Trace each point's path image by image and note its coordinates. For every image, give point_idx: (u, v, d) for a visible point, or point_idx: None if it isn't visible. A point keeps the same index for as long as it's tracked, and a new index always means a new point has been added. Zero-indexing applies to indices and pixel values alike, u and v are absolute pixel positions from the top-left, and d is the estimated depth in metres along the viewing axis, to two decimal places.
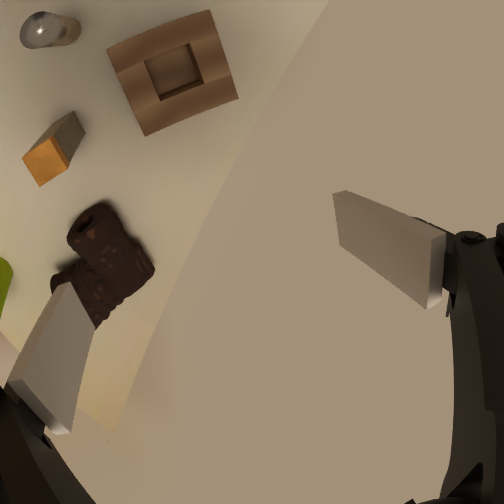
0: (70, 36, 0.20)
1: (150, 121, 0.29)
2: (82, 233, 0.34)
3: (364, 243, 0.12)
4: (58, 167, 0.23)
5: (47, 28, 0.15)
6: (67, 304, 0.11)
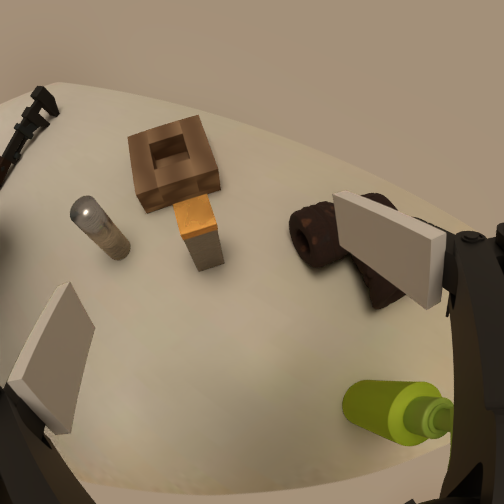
0: (115, 225, 0.36)
1: (205, 164, 0.38)
2: (306, 234, 0.34)
3: (365, 244, 0.12)
4: (202, 201, 0.29)
5: (86, 201, 0.29)
6: (67, 304, 0.11)
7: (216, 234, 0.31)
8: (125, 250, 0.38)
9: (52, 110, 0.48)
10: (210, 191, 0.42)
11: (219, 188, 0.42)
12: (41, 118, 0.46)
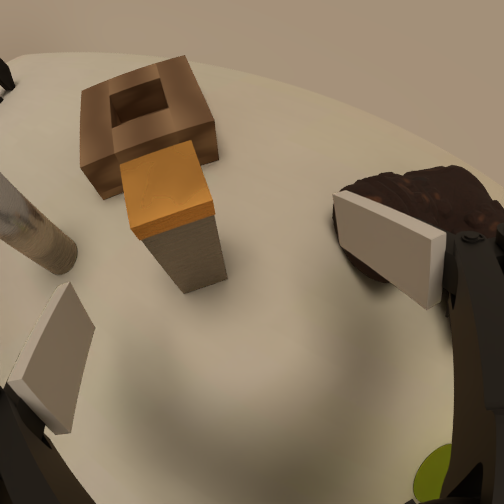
0: (48, 219, 0.19)
1: (193, 115, 0.22)
2: None
3: (364, 244, 0.12)
4: (181, 154, 0.13)
5: None
6: (67, 305, 0.11)
7: (212, 226, 0.14)
8: (67, 259, 0.22)
9: (6, 82, 0.31)
10: (202, 161, 0.26)
11: (217, 157, 0.26)
12: None
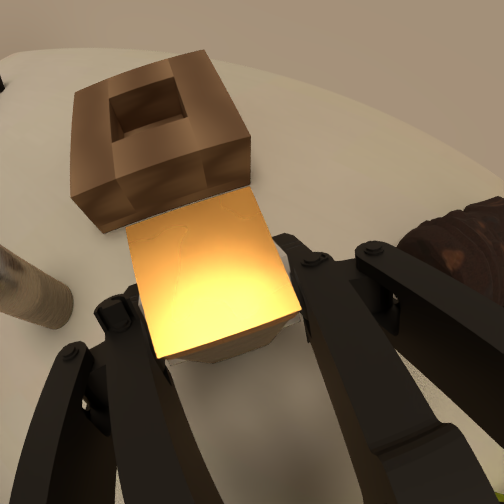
0: (33, 266, 0.14)
1: (221, 127, 0.17)
2: None
3: None
4: (235, 213, 0.08)
5: None
6: None
7: (281, 324, 0.09)
8: (61, 313, 0.17)
9: None
10: (229, 187, 0.21)
11: (248, 181, 0.21)
12: None
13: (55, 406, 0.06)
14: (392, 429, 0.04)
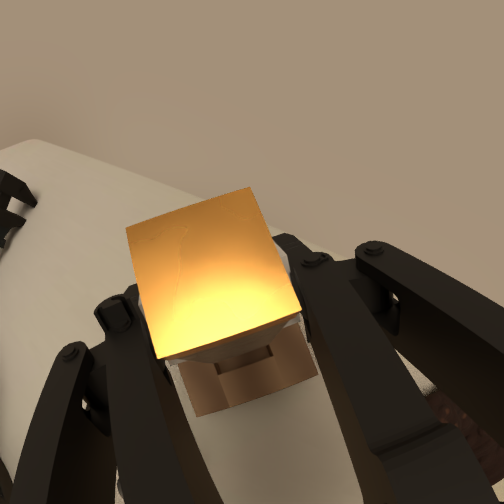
0: None
1: (298, 367, 0.25)
2: None
3: None
4: (236, 214, 0.08)
5: None
6: None
7: (281, 325, 0.09)
8: None
9: (26, 201, 0.34)
10: None
11: None
12: (12, 216, 0.32)
13: (55, 406, 0.06)
14: (391, 430, 0.04)
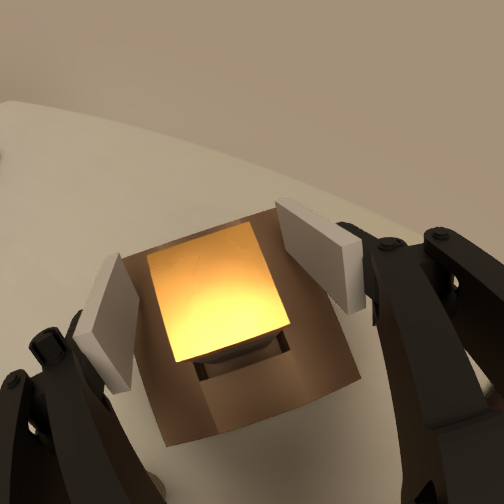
0: None
1: (330, 367, 0.15)
2: None
3: (300, 249, 0.13)
4: (238, 245, 0.10)
5: None
6: (119, 273, 0.13)
7: (275, 333, 0.11)
8: None
9: None
10: None
11: None
12: None
13: (5, 429, 0.05)
14: (447, 409, 0.04)
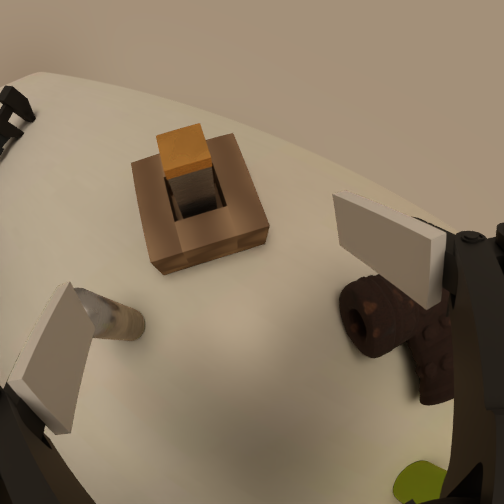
0: (125, 306, 0.25)
1: (250, 217, 0.28)
2: (366, 322, 0.24)
3: (364, 243, 0.12)
4: (193, 131, 0.22)
5: (80, 298, 0.19)
6: (67, 305, 0.11)
7: (210, 174, 0.23)
8: (139, 332, 0.28)
9: (26, 115, 0.35)
10: (251, 246, 0.32)
11: (263, 243, 0.32)
12: (12, 127, 0.33)
13: None
14: None
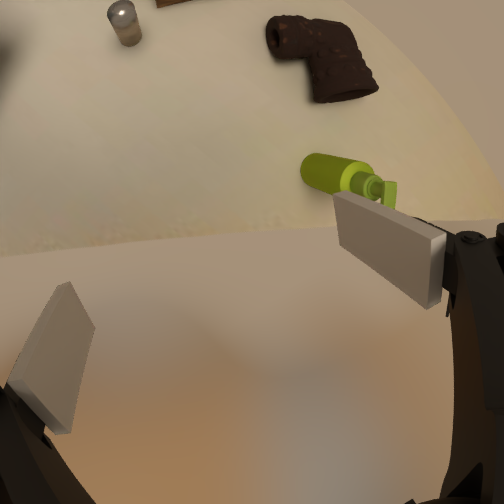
0: None
1: None
2: (280, 34, 0.35)
3: (365, 243, 0.12)
4: None
5: (123, 4, 0.24)
6: (67, 305, 0.11)
7: None
8: (139, 38, 0.34)
9: None
10: None
11: None
12: None
13: None
14: None
